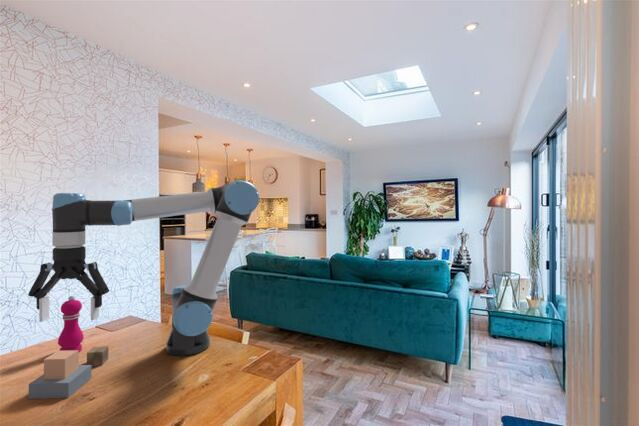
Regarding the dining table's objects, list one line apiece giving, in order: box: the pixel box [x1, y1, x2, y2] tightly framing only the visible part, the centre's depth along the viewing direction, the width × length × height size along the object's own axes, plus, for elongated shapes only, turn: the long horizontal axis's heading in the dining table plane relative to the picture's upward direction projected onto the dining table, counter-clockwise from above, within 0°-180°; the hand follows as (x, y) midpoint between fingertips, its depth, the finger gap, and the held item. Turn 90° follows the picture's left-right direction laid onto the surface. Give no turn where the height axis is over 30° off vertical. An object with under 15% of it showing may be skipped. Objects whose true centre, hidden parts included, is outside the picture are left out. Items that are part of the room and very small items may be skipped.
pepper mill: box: [57, 295, 85, 353], centre depth 113 cm, size 7×7×20 cm
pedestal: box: [28, 364, 93, 400], centre depth 91 cm, size 10×10×4 cm
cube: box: [43, 350, 79, 379], centre depth 91 cm, size 6×6×6 cm
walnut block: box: [86, 345, 109, 367], centre depth 106 cm, size 4×4×4 cm
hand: (69, 319), depth 93 cm, fingers open, 13 cm apart
